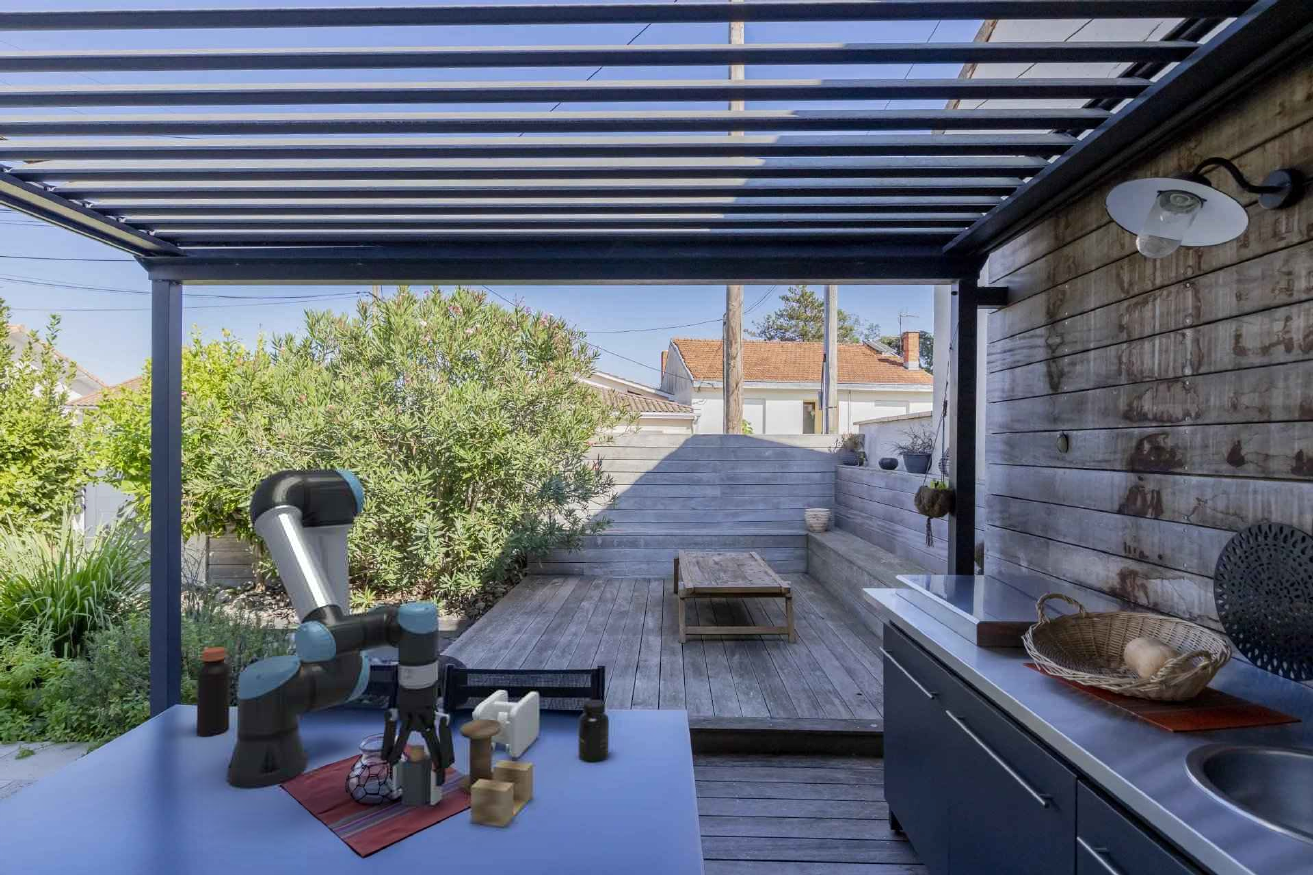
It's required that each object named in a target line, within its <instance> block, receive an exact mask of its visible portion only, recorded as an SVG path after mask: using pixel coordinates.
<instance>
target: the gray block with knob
mask: <svg viewBox="0 0 1313 875" xmlns="http://www.w3.org/2000/svg"><path fill="white" fill-rule="evenodd" d="M403 761H404V762H403V764H402V797H401V799H402V800H401V804H402V805H406V806H413V807H422V806H423V805H424V804H425V803H427V802H428V801H429V800H431V771H432V770H433V762H432V759H431V756H430V755H425V745H424V744H415V745H413V746H412V745H411V747H410V756H409V757H408V758H407V759H405V760H403ZM428 799H429V800H428ZM421 805H422V806H421Z"/></svg>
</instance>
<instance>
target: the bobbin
mask: <svg viewBox="0 0 1313 875" xmlns="http://www.w3.org/2000/svg"><path fill="white" fill-rule="evenodd" d="M500 731H501V724H500V723H499V722H498V721H495V720H490V719H480V720H474V721H473V720H471V721H468V722H465V723H463V724H462V725H461V727H460V735H461V737H463V738H466V739H469V774H467V775H465V776H464V777H462V778H461V780H460V790H461V791H462V790H463V791H465V792H468V793H471V786H473V785H474V784H475V783H476V782H477V781H478V780H479V779H484V780H492V781H493V765H492V760H493V759H492V757H493V756H492V751H493V747H492V736H495V735H497V734H498V733H499V732H500ZM463 791H462V792H463ZM465 792H464V793H465ZM468 793H467V794H468Z"/></svg>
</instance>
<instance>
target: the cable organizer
mask: <svg viewBox="0 0 1313 875" xmlns="http://www.w3.org/2000/svg"><path fill="white" fill-rule="evenodd" d="M508 700H509V695H508V691H507V690H502V689H498V690H496V691H495V692H493V693H492V694H491V695H490V696H488V697H487V698H485V699H484V700H483V701H482V702H480V703H479V704H478V705H477V706H476V707H475V708H474V711H472V713H471V714H472V715H471V716H472V719H473V720H472V721H474V720H480V719H490V720H495V721H498V722H499V723H500V724H501V731H500V732H499V733H498V734H497V735H495V736H492V751H496V745H497V744H504V745H505V750H506V751H507V752H509V756H510V757H512V758H513V757H514V758H516V759H517V758H518V757H519V756H522V755H523V753H524V752H525V751H526V749H528V748H529V747H530V746H531V745H533V743H534V742H535V741H536V739H537V738H538V735H539V732H540V694H539V692H538V691H530V692H529V693H528V694H526V695H525V696H523V698H522V699H520V700H519V701H518V702H512V701H511V702H509V701H508ZM508 750H509V751H508ZM519 758H520V757H519ZM519 758H518V759H519Z"/></svg>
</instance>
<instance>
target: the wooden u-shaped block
mask: <svg viewBox="0 0 1313 875" xmlns="http://www.w3.org/2000/svg"><path fill="white" fill-rule="evenodd" d="M492 772H493V781H492V780H484V779H479V780H478V781H477V782H476V783H475V784H474V785H473V786H471V794H470V823H472V824H479V825H487V826H493V827H500V828H507V826H508V825H509V824H510V823H511V822H512V821H513V819H514V818H516V816H518V814H519V813H520V812H521V811H520V810H523V809H524V807H525V806H526V805H527V804H528V803H529V802H528V801H531V799H532V798H534V797H533V794H534V792H533V789H534V788H533V787H534V785H533V784H534V782H533V779H534V778H533V776H534V773H533V772H534V763H532V762H531V763H530V762H523V761H515V760H506V759H500V760H499V761H498V762H497V763H496V764H494V765H492ZM527 802H528V803H527ZM526 803H527V804H526ZM525 804H526V805H525ZM524 805H525V806H524Z"/></svg>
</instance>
